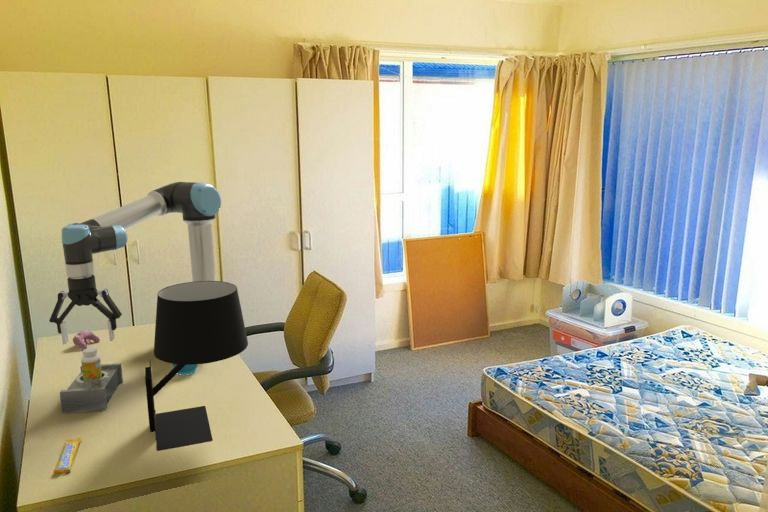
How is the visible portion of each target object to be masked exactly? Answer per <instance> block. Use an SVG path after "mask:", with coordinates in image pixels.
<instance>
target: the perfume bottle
mask: <svg viewBox="0 0 768 512" xmlns="http://www.w3.org/2000/svg"><path fill="white" fill-rule="evenodd" d="M176 365H177V364H172V366H173V368H174V367H175V366H176ZM198 365H199V364H194V365H185V366H184V367H183V368H182V369H181V370H180V371H179V372H178V374H181V375H180V376H188V375H187V374H190V375H192V374H191V373H193V374H195V373H196V372H197V368H198ZM195 371H196V372H195ZM194 372H195V373H194ZM178 374H177V375H178Z"/></svg>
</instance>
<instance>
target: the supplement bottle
mask: <svg viewBox="0 0 768 512" xmlns="http://www.w3.org/2000/svg"><path fill="white" fill-rule="evenodd" d="M82 355H83V356H82V357H81V360H80V362H81V366H82V373H83V380H84V381H94V380H98V379H100V378H101V377H102V371H101V364H102V363H101V356H100V355H99V354H98V349H97V348H96V347H87V349H84V350H83V349H82Z"/></svg>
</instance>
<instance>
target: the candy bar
mask: <svg viewBox="0 0 768 512" xmlns="http://www.w3.org/2000/svg"><path fill="white" fill-rule="evenodd" d="M82 441H83V438H82V437H78V438H77V437H76V438H71V439H66V440H65V442H64V443H65V444H64V446H63V450H62V454H61V456H60V458H59V461H58V463H57V465H56V468H55V469H53V471H52V472H53V473H52V475H53V476H60V475H64V474H70V473H71V469H72V467H73V464H74V462H75V459H76V457H77V453H78V450H79V447H80V444H81V442H82Z"/></svg>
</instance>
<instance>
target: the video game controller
mask: <svg viewBox="0 0 768 512" xmlns="http://www.w3.org/2000/svg"><path fill="white" fill-rule="evenodd" d="M91 341H93V342H95V343H100V341H101V339H100V337H99V336H98V335H96V334H95V333H93V331H91V330H89V329H88V330H82V331H80V332H78V333H76V335H74V337H73V338H72V342H73V344H74V345H75V346H77V347H78V348H79V349H81V350H82V351H83V350H84V349H87V348H88V346H87V345H90V344H91Z"/></svg>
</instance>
